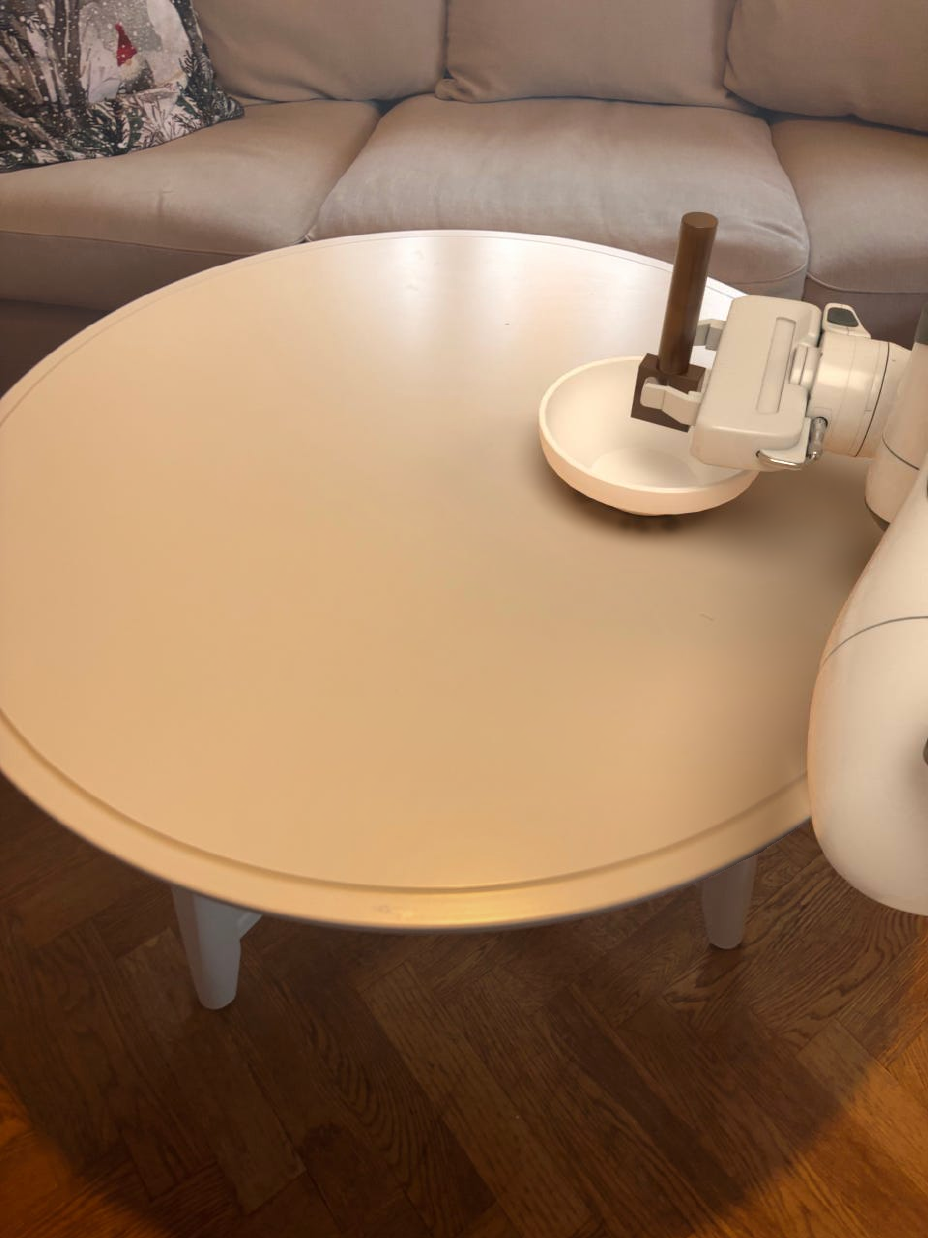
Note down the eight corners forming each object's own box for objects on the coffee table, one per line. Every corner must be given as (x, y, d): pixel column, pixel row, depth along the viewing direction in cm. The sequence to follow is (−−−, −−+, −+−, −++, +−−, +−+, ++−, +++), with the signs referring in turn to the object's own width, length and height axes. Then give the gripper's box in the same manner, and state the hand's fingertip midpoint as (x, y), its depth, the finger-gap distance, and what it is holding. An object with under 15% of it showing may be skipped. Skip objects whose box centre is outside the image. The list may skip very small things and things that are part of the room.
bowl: (585, 399, 96) (593, 334, 91) (780, 458, 90) (800, 392, 84) (495, 512, 84) (498, 444, 79) (712, 589, 78) (731, 521, 73)
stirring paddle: (695, 418, 82) (739, 218, 69) (686, 434, 80) (729, 233, 68) (639, 402, 83) (671, 204, 71) (629, 418, 81) (660, 219, 69)
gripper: (807, 506, 71) (621, 467, 74) (828, 362, 84) (670, 334, 87) (832, 435, 66) (632, 396, 69) (850, 294, 79) (682, 267, 82)
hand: (653, 360), depth 78 cm, fingers open, 8 cm apart
